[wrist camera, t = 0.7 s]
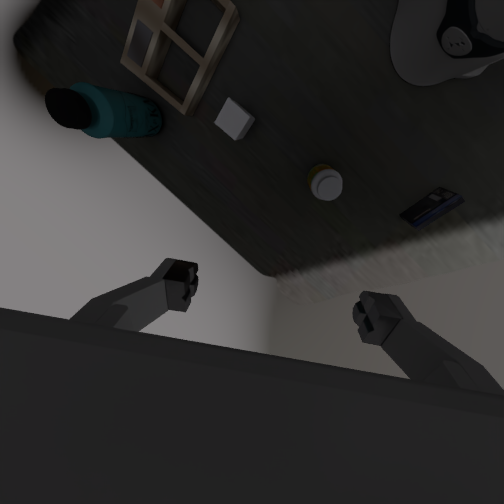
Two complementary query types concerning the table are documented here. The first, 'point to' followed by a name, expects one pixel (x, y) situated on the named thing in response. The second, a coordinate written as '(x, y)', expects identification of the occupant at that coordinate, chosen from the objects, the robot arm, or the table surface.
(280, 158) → the table surface
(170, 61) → the table surface
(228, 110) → the plug
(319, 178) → the supplement bottle
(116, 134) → the beverage bottle
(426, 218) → the mini dv tape
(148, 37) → the socket block
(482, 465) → the robot arm
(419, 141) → the table surface
